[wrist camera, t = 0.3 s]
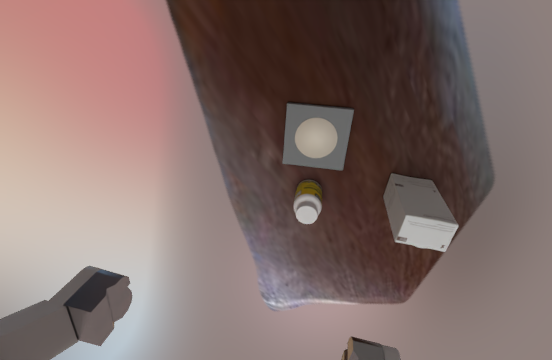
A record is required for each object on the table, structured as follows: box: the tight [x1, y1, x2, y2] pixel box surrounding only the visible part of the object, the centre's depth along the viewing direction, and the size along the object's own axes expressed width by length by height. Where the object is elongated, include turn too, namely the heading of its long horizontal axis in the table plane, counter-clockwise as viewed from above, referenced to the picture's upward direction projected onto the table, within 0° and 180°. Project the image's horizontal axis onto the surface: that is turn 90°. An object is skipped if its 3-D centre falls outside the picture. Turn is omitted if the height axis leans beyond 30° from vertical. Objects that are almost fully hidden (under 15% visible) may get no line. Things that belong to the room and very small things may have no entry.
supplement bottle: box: [294, 180, 322, 224], centre depth 57 cm, size 5×5×10 cm
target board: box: [283, 102, 354, 170], centre depth 56 cm, size 12×12×1 cm
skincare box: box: [383, 173, 458, 252], centre depth 52 cm, size 8×6×15 cm
